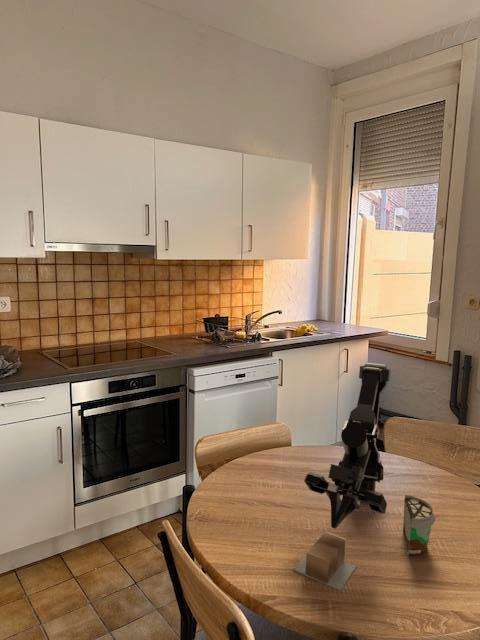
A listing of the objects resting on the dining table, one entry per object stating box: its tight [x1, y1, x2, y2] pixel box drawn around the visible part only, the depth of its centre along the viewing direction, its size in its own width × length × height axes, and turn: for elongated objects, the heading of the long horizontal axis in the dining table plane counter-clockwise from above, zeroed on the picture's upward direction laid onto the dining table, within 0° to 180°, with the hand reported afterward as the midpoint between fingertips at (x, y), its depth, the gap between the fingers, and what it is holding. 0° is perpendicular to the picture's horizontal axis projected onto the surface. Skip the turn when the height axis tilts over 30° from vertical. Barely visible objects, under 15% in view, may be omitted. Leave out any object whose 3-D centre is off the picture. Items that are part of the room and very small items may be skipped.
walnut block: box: [305, 531, 347, 584], centre depth 105 cm, size 5×5×10 cm
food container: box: [402, 494, 436, 558], centre depth 114 cm, size 12×6×10 cm, turn 168°
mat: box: [293, 554, 357, 591], centre depth 105 cm, size 9×11×1 cm
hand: (333, 527), depth 107 cm, fingers closed
